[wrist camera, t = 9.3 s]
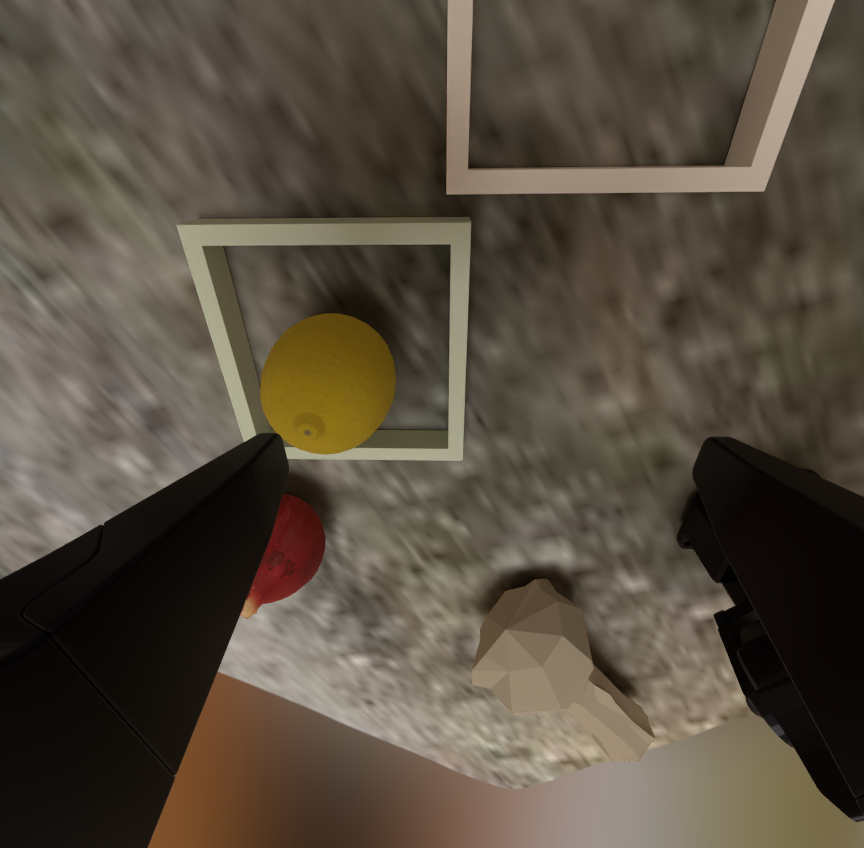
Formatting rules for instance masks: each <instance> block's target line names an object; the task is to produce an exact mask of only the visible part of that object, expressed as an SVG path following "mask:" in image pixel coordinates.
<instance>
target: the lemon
mask: <svg viewBox="0 0 864 848" xmlns="http://www.w3.org/2000/svg"><path fill="white" fill-rule="evenodd" d="M395 386H396V372H395V365H394V360H393V357H392V355H391V353H390V350H389V348H388V346H387V344H386V343H385V341H384V340H383V339H382V337H381V336H380V335H379V333H378V332H376V331H375V330H374V329H373V328H372V327H370V326H369V325H368V324H367V323H365V322H363V321H361V320H359V319H357V318H355V317H352V316H348V315H343V314H339V313H324V314H320V315H316V316H312V317H309V318H306V319H304V320H302V321H300V322H299V323H297V324H295V325H294V326H292V327H291V328H289V329H288V330H287V331H286V332H285V333H284V334H283V335H282V336H281V337H280V338H279V340H278V341H277V342H276V343H275V344H274V346H273V347H272V349H271V351H270V353H269V355H268V358H267V360H266V363H265V365H264V368H263V371H262V376H261V386H260V398H261V403H262V408H263V411H264V414H265V416H266V418H267V420H268V422H269V424H270V425H271V427H272V428H273V429H274V430H275V432H276V433H278V434H279V435H281V437H282V438H283V439H284V440H285V441H286V442H288V443H289V444H291V445H292V446H294V447H296V448H298V449H300V450H303V451H307V452H310V453H315V454H324V455H327V454H337V453H341V452H344V451H347V450H350V449H353V448H355V447H356V446H358V445H360V444H361V443H363V442H364V441H366V440H367V439H368V438H369V437H370V436H371V435H372V434H373V433H374V432H375V431H376V430H377V428H378V427H379V426H380V425H381V424H382V422H383V421H384V419H385V417H386V415H387V413H388V411H389V409H390V406H391V404H392V402H393V399H394V393H395Z"/></svg>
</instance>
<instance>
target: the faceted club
mask: <svg viewBox="0 0 864 848" xmlns="http://www.w3.org/2000/svg"><path fill="white" fill-rule="evenodd" d="M472 685H475V686H479V687H483V688H488V689H490V690H491V691H492V692H493V693H494V694H495V695H496V696H497V697H498V698H499V699H500V701H501V702H502V703H503V704H504V705H505V706H506V707H507V708H508V709H509V710H510V711H511V713H522V714H527V713H537V712H547V711H558V710H562V711H564V712H565V713H566V714H568V715H569V716H570V717H571V718H573V719H574V720H575V721H577V722H578V723H579V728H580V729H581V730H582V731H584V732H585V733H586V734H588V735H589V736H590V737H592V738H593V739H594V740H595V741H596V743H597V744H598V745H599V746H600V747H601V749H602V750H603V751H604V752H605V753H606V755H607V756H608V757H609V758H610V759H611V761H640V759H641V758H642V756H643V755H644V753H645V752H646V750H647V749H648V747H649V745H650V744H651V743H652V742H653V741H654V740H655V736H654V734H653V732H652V729H651V727H650V725H649V722H648V717H647V715H646V714H645V713H644V711H643V709H642V707H640V706H639V705H638V704H636V703H635V702H634V701H632V700H631V699H630V698H628V697H627V696H626V695H624V694H623V693H621V692H620V691H619V690H618V689H617V688H616V687H615V686H614V685H613V684H612V683H611V682H610V680H609V679H608V678H607V677H606V676H605V675H604V674H603V673H602V672H601V671H600V670H599V669H598V668H597V667H596V666H595V665H594V664H593V662H592V657H591V652H590V646H589V641H588V635H587V630H586V625H585V620H584V616H583V611H582V609H581V608H580V607H578V606H577V605H575V604H574V603H572V602H571V601H569V600H568V599H567V598H565V597H564V596H562V595H561V594H559V593H558V592H556V590H555V589H554V587H553V586H552V584H551V583H550V581H549V580H547V579H535V580H533V581H532V582H530V583H529V584H528V585H526V586H524V587H520V588H516V589H511V590H507V591H505V592H504V593H503V595H502V596H501V597H500V599H499V600H498V602H497V603H496V604H495V606H494V607H493V608H492V610H491V611H490V612H489V614H488V615H487V617H486V619H485V621H484V623H483V625H482V627H481V629H480V643H479V646H478V650H477V654H476V657H475V661H474V665H473V668H472Z"/></svg>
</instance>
